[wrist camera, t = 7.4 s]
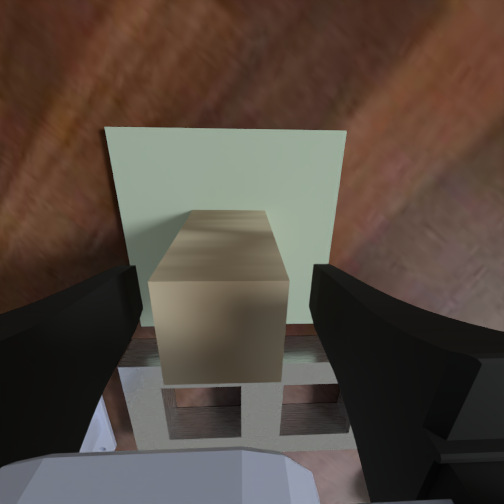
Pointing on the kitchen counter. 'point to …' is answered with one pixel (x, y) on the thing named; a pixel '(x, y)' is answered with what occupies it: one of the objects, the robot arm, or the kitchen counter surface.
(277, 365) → the peg
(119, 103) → the kitchen counter surface
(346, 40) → the kitchen counter surface
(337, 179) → the mat
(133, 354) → the rail
